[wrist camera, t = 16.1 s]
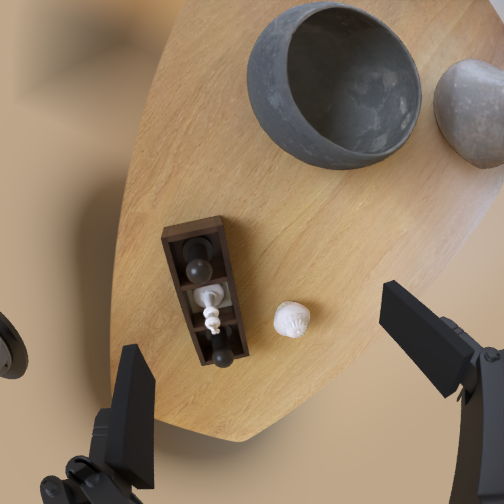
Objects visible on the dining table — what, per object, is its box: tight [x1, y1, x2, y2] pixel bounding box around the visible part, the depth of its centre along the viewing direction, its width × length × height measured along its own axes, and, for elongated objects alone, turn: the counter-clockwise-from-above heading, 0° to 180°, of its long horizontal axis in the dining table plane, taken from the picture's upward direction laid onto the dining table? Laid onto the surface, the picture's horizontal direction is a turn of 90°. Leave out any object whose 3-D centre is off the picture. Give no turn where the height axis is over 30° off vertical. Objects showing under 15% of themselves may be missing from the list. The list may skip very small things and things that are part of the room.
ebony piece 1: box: [182, 235, 213, 284], centre depth 37 cm, size 4×4×9 cm
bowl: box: [247, 2, 422, 170], centre depth 29 cm, size 20×20×15 cm
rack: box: [161, 215, 250, 366], centre depth 43 cm, size 8×23×5 cm, turn 8°
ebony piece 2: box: [205, 325, 234, 368], centre depth 43 cm, size 4×4×9 cm
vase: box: [433, 59, 504, 169], centre depth 29 cm, size 20×19×25 cm
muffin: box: [274, 301, 310, 338], centre depth 46 cm, size 6×6×7 cm
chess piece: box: [192, 283, 224, 335], centre depth 40 cm, size 5×5×10 cm
